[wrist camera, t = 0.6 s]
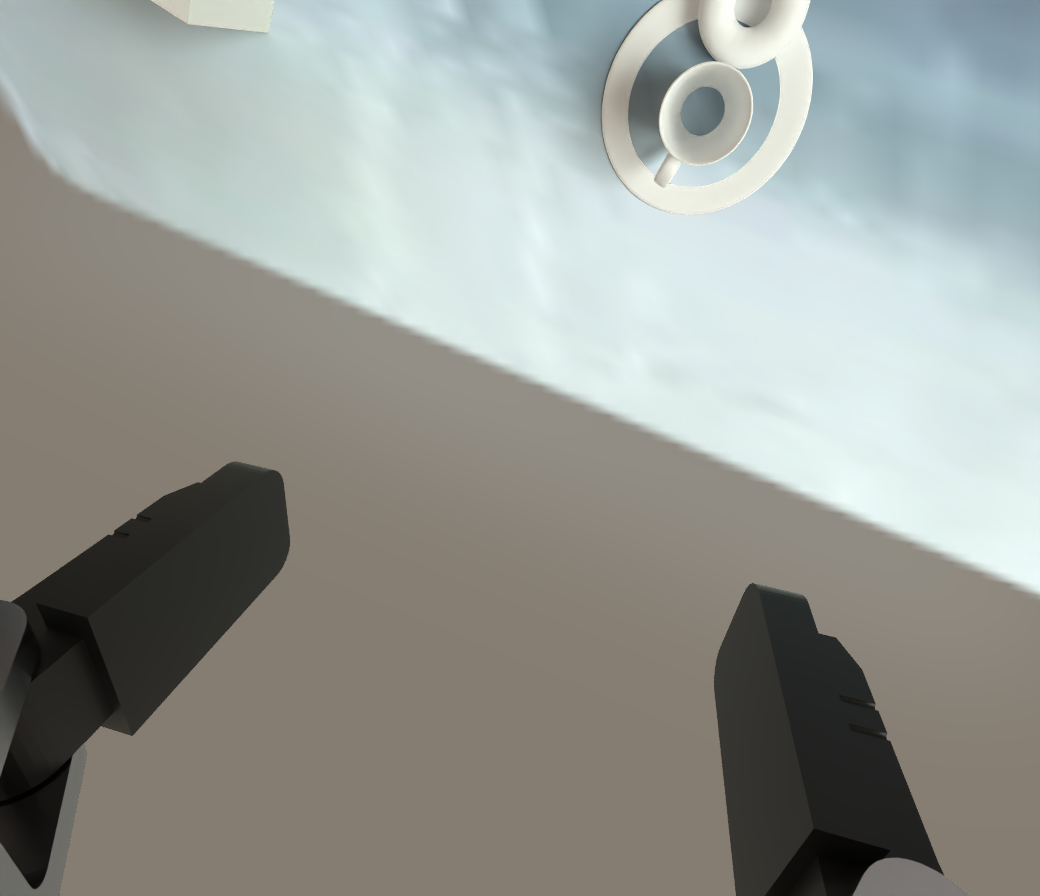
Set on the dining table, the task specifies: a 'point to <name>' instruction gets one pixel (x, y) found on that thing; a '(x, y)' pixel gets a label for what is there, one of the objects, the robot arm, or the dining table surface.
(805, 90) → the teacup and saucer
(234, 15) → the white cube
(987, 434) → the dining table surface
